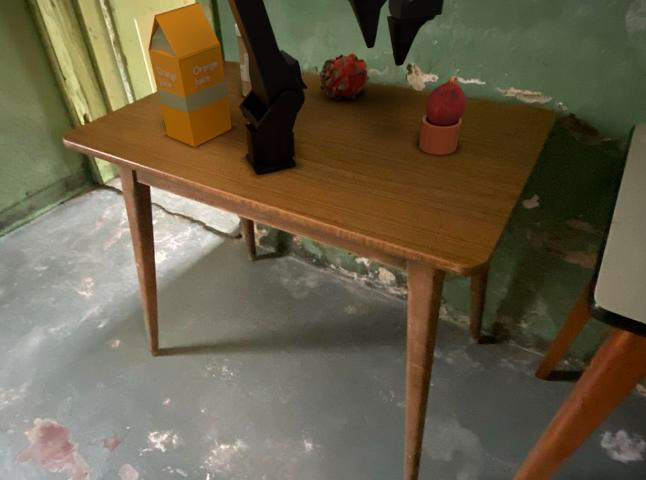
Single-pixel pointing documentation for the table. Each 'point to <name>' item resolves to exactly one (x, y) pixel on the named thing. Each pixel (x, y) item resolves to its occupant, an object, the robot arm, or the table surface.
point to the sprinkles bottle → (243, 64)
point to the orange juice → (189, 75)
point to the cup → (439, 137)
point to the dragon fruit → (343, 76)
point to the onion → (446, 103)
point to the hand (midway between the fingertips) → (384, 56)
